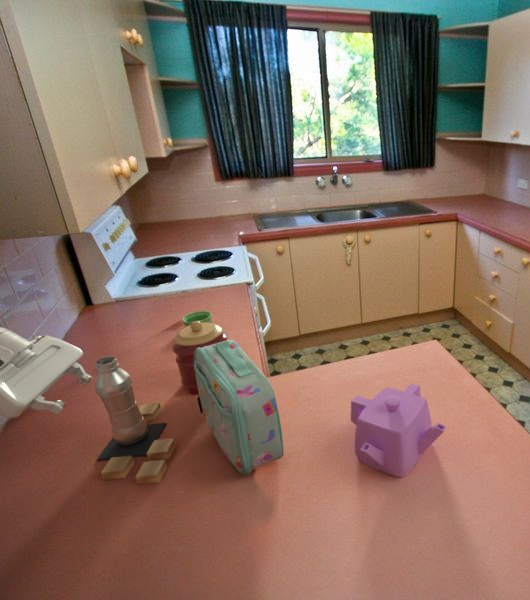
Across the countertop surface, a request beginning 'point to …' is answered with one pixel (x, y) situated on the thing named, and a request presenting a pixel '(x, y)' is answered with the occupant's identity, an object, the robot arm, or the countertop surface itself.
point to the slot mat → (135, 449)
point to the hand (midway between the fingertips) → (76, 394)
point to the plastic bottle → (119, 402)
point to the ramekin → (197, 317)
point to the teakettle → (393, 429)
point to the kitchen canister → (187, 345)
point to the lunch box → (238, 405)
